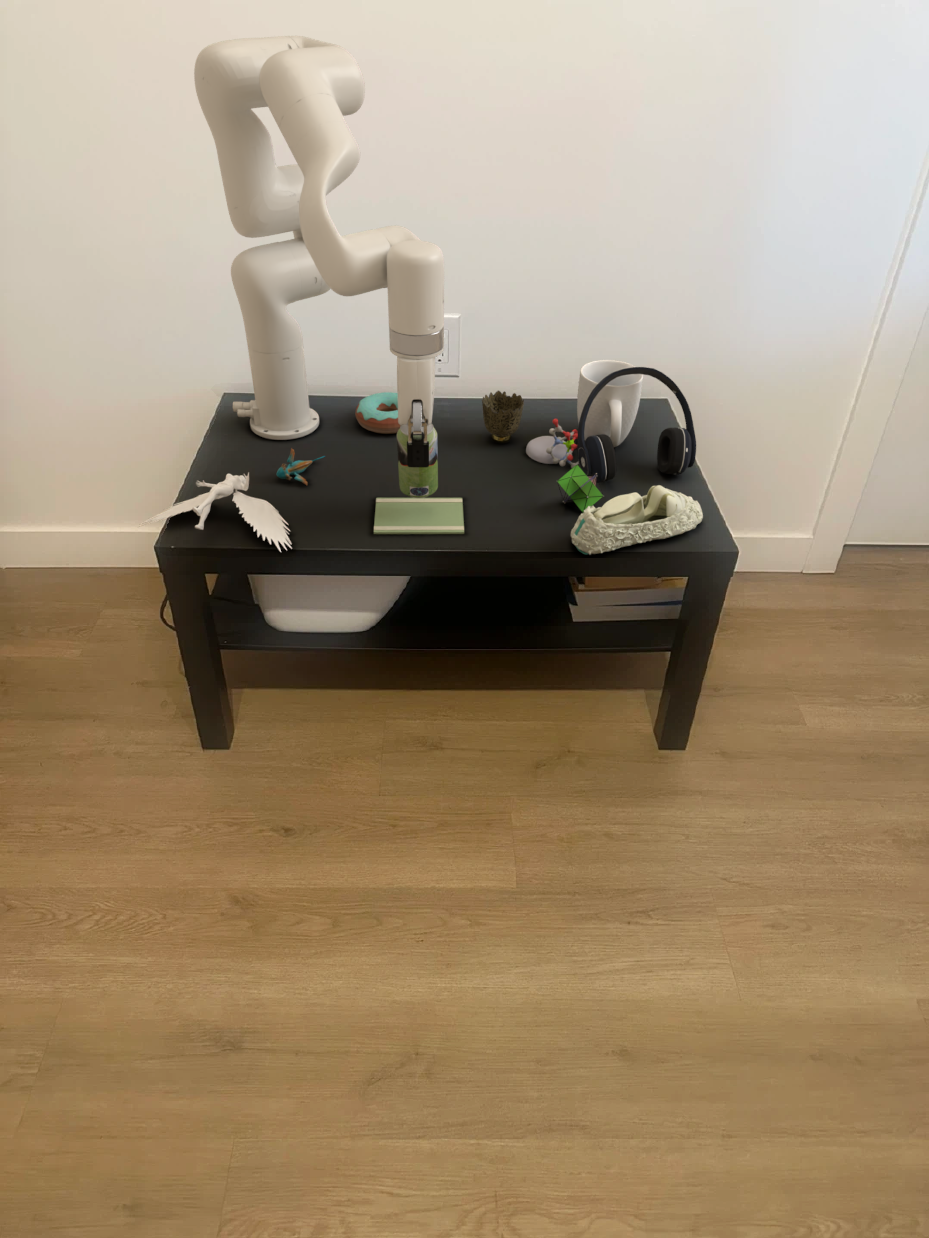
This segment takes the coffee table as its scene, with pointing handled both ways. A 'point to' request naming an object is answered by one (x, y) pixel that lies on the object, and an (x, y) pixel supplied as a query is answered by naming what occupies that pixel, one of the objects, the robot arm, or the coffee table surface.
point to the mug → (609, 400)
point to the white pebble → (539, 446)
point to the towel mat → (419, 516)
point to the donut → (379, 413)
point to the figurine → (252, 508)
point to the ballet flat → (635, 520)
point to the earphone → (672, 445)
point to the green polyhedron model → (580, 488)
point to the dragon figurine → (294, 468)
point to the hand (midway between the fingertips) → (418, 453)
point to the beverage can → (417, 478)
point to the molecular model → (569, 444)
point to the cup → (502, 415)
